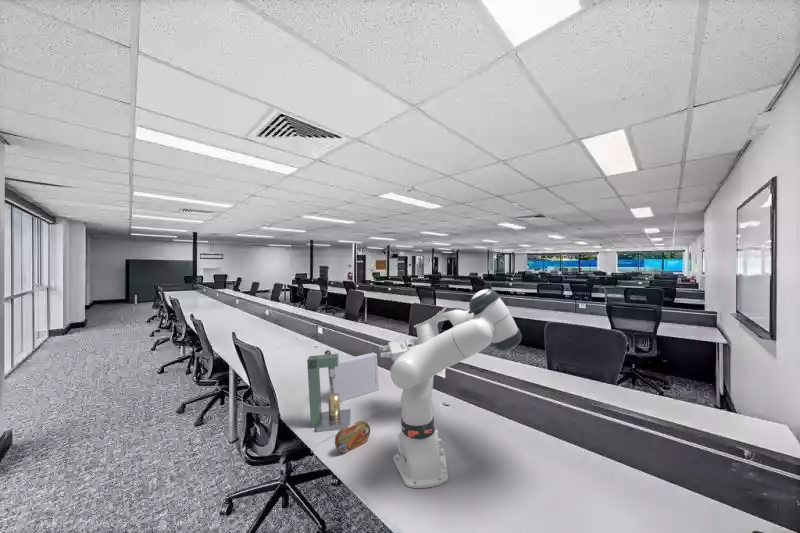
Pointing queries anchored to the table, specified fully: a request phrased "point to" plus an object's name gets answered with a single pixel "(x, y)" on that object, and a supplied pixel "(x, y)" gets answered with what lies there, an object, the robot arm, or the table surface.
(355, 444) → the tin
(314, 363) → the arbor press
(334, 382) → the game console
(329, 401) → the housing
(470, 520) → the table surface
